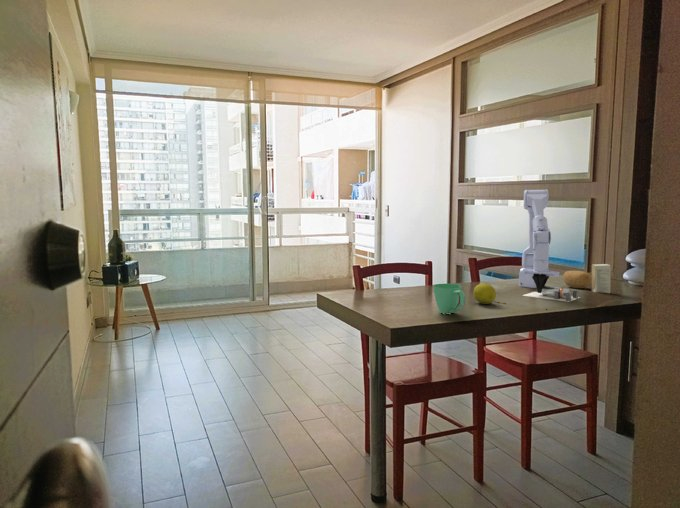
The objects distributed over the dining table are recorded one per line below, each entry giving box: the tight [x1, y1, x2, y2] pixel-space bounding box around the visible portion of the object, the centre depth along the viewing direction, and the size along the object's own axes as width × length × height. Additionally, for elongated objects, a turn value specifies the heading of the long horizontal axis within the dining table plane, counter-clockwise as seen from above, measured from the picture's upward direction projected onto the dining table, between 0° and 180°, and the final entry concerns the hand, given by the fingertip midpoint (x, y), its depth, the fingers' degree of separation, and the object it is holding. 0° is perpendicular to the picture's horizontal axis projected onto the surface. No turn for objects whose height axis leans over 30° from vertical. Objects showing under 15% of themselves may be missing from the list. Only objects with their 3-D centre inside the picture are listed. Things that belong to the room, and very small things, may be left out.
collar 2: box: [565, 289, 579, 302], centre depth 197 cm, size 1×8×3 cm, turn 133°
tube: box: [542, 285, 572, 298], centre depth 201 cm, size 10×4×4 cm, turn 43°
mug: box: [432, 283, 466, 314], centre depth 178 cm, size 15×10×10 cm
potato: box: [562, 270, 592, 290], centre depth 223 cm, size 10×14×8 cm
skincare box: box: [591, 263, 612, 294], centre depth 211 cm, size 6×4×12 cm
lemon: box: [473, 282, 497, 305], centre depth 196 cm, size 11×8×8 cm
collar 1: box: [554, 291, 560, 299], centre depth 200 cm, size 1×8×3 cm, turn 133°
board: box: [522, 291, 581, 303], centre depth 203 cm, size 19×11×1 cm, turn 43°
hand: (540, 292), depth 206 cm, fingers closed
